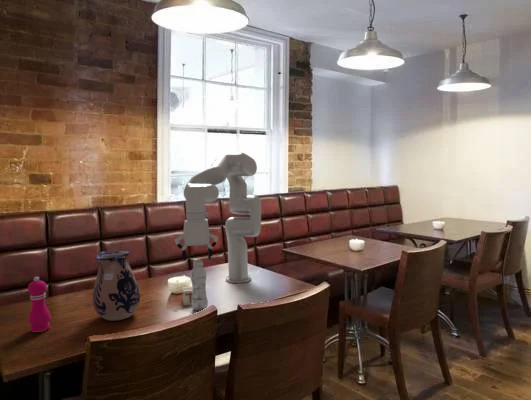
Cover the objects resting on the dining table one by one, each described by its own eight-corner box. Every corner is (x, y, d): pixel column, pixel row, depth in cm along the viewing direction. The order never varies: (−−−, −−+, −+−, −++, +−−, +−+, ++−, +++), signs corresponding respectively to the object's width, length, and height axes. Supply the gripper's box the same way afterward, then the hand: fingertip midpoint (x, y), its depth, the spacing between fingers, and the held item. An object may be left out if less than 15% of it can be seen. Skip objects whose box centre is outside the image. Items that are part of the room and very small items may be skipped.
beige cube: (183, 300, 182) (182, 287, 181) (197, 299, 183) (196, 285, 183) (183, 305, 176) (182, 291, 175) (197, 304, 177) (197, 290, 176)
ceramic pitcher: (114, 329, 153) (110, 262, 150) (78, 318, 164) (74, 255, 161) (150, 313, 168) (147, 251, 165) (115, 304, 179) (112, 246, 176)
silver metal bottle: (210, 307, 173) (209, 259, 171) (203, 313, 166) (201, 263, 164) (196, 305, 175) (194, 258, 173) (188, 311, 169) (186, 262, 166)
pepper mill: (35, 326, 157) (30, 274, 155) (55, 325, 158) (50, 273, 156) (25, 334, 150) (20, 280, 148) (46, 333, 151) (42, 279, 149)
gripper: (217, 214, 172) (218, 255, 173) (173, 216, 168) (175, 258, 170) (218, 216, 164) (220, 259, 166) (173, 218, 161) (175, 262, 162)
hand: (197, 259), depth 168 cm, fingers open, 9 cm apart
